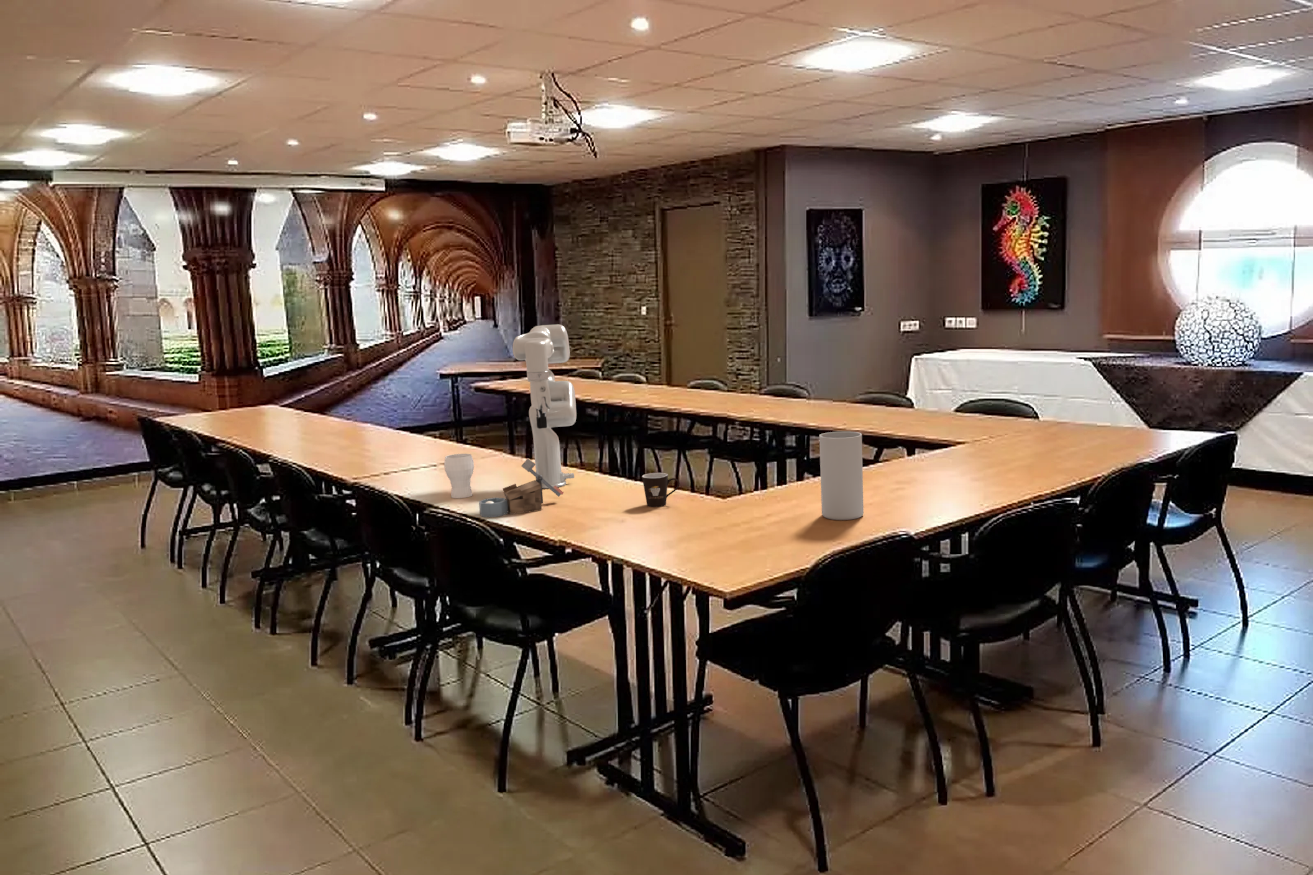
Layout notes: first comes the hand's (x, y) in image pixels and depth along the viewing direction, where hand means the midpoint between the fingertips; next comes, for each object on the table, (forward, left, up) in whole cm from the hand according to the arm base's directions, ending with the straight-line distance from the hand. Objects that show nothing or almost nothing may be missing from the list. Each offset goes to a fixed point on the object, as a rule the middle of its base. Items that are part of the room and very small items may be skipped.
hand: (542, 427), depth 346 cm
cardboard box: (+10, +12, -25) cm, 30 cm away
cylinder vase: (-74, +79, -25) cm, 111 cm away
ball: (+23, +15, -23) cm, 35 cm away
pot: (+22, +15, -25) cm, 36 cm away
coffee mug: (-31, +34, -25) cm, 52 cm away
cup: (+27, -21, -25) cm, 43 cm away
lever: (+4, +13, -17) cm, 22 cm away
